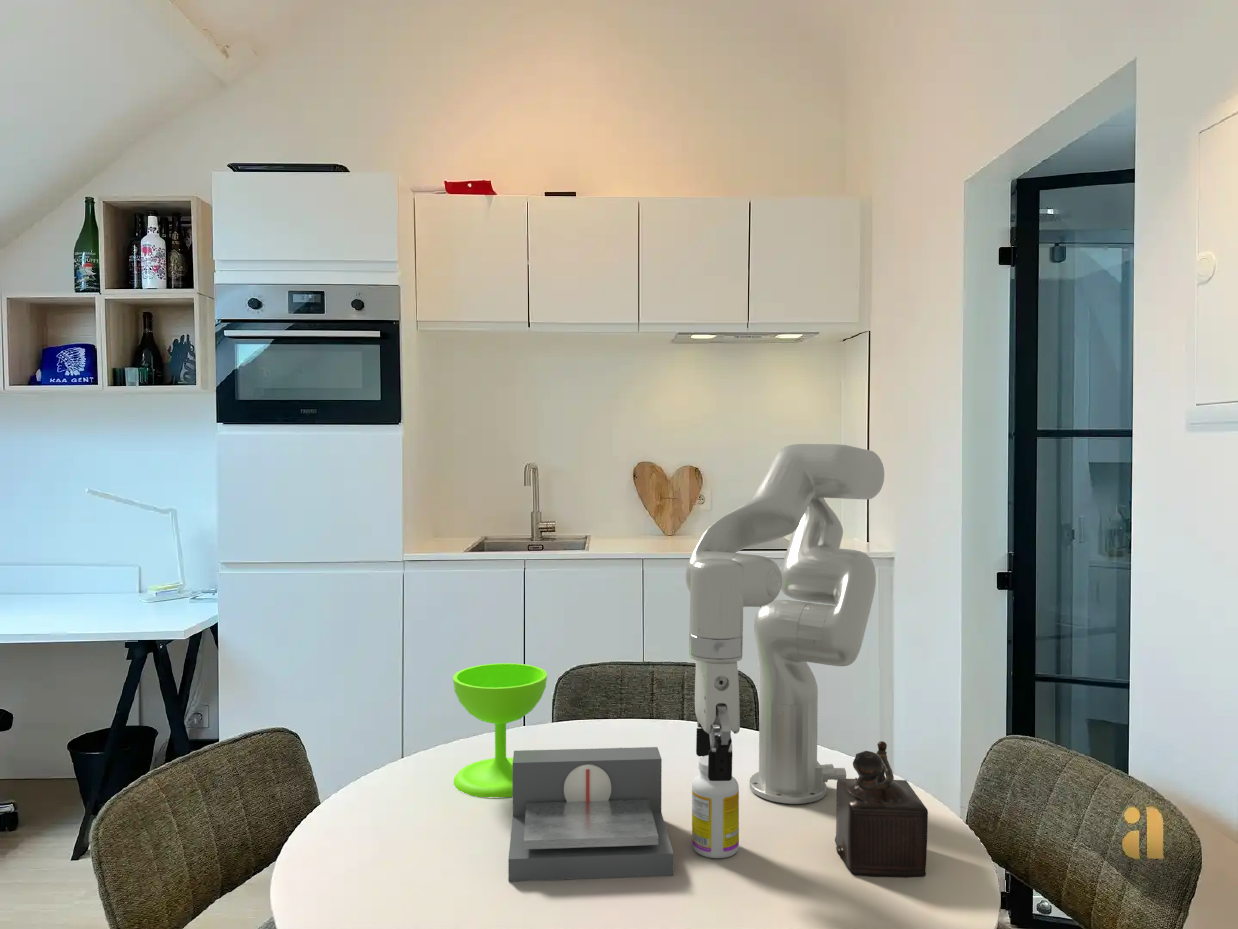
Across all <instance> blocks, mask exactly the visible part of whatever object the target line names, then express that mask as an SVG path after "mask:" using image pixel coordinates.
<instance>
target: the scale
mask: <svg viewBox="0 0 1238 929" xmlns="http://www.w3.org/2000/svg"><path fill="white" fill-rule="evenodd" d="M512 758H513V797H512V818H511V819H512V821H511V830H510V841H509V851H508V861H507V862H508V866H507V867H508V868H507V869H508V870H507V871H508V878H507V879H508V882H527V881H530V882H531V881H535V882H536V881H555V880H580V879H581V880H585V879H610V878H612V879H613V878H634V877H635V878H636V877H637V878H639V877H640V878H641V877H660V876H661V877H664V876H665V877H666V876H667V877H668V876H674V851H673V847H672V844H671V840H670V837H669V834H668V829H667V827H666V824H665V820H664V816H663V813H662V772H663V771H662V767H663V766H662V760H663V759H662V757H661V754H660V750H659V748H658V746H651V747H650V746H645V747H644V746H643V747H610V748H609V747H607V748H606V747H604V748H602V747H601V748H568V749H567V748H566V749H564V748H563V749H562V748H561V749H533V750H531V749H530V750H529V749H528V750H526V749H523V750H521V749H520V750H513V756H512ZM639 799H648V800H649V803H650V807H651V811H652V814H653V818H654V822H655V826H656V829H657V833H658V845H639V846H609V847H580V848H551V849H524V829H525V814H526V803H539V802H582V801H586V802H589V801H608V800H639Z"/></svg>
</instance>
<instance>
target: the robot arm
mask: <svg viewBox="0 0 1238 929" xmlns="http://www.w3.org/2000/svg"><path fill="white" fill-rule="evenodd" d="M884 482H885V467H884V464H883V462H882V459H881V458H880V456H879V455H878V454H877V453H876V452H875V451H873V450H870V449H865V448H861V447H857V446H853V445H846V444H835V443H833V444H832V443H831V444H830V443H820V444H819V443H795V444H794V443H793V444H789V445H786V446H784V447H782V448H781V449H780V450H779V451H778V452H777V453H776V454H775V456H774V457H773V459H772V461H771V462H770V465H769V466H768V468H767V470H766V472H765V473H764V476H763V478H762V479H761V482H760V484H759V485H758V487H757V489H756V491H755V493H754V494H753V497H752V499H750V500H749V501H747V502H745V503H744V504H742V505H740V506H738V507H736V508H735V509H733V510H731V511H729V512H727V514H725V515H723V516H722V517H720V518H719V519H717V520H716V521H714V522H713V523H712V524H711V525H710V526H709V527H707V529H706V530H705V531H704V532H703V533H702V535H701V537H700V538H699V540H698V542H697V544H696V545H695V547H694V549H693V551H692V552H691V555H690V558H689V560H688V562H687V566H686V568H685V569H686V570H685V584H686V587H687V589H688V591H689V594H690V595H689V634H688V635H689V638H688V643H689V644H688V657H689V658H690V659H691V660H694V661H695V671H694V672H695V677H694V678H695V679H694V712H695V717H696V720H697V722H696V724H697V728H696V740H695V741H696V743H695V745H696V747H695V753H696V756H697V757H703V756H707V755H708V778H709V780H710V781H730V780H731V779H732V776H733V744H732V743H733V742H732V741H733V740H732V735H731V732H732V733H733V734H735V735H736V734H738V733H739V732H740V730H741V724H740V722H741V720H740V685H739V684H740V683H739V682H740V681H739V669H738V662H739V661H742V659H743V641H744V640H743V639H744V638H743V637H744V636H743V635H744V633H743V632H744V608H745V607H746V608H747V607H748V608H749V607H753V608H758V607H759V608H758V610H757V612H756V613H755V616H754V621H753V622H754V623H753V632H754V639H755V645H756V649H757V651H756V652H757V656H758V668H759V669H758V670H759V705H758V706H759V710H758V711H759V715H758V716H759V718H758V719H759V720H758V721H759V723H758V724H759V725H758V726H759V727H758V728H759V729H758V734H759V735H758V736H759V738H758V739H759V742H758V743H759V744H758V749H759V750H758V771H757V772H756V773H754V774H753V775H751V777H750V778H749V789H750V790H751V791H752V793H754V794H755V795H756V796H758V797H760V798H762V799H764V800H767V801H770V802H775V803H780V804H786V805H787V804H789V805H801V804H802V805H803V804H810V803H814V802H818V801H820V800H822V799H823V798H824V797H825V796H826V794H827V783H828V780H829V781H830V780H833V781H837V780H838V779H840V778H845V779H847V771H846V768H845V767H835V766H834V764H833V763H826V764H820V763H819V761H818V712H819V710H818V708H819V706H818V704H819V703H818V699H819V698H818V697H819V696H818V695H819V689H818V683H817V680H816V677H815V675H814V672H813V671H812V669H811V668H810V666H809V664H808V663H812V664H813V663H814V664H820V665H826V666H833V667H848V666H850V665H852V664H854V662H855V661H856V660H857V658H858V656H859V654H860V651H861V648H862V644H863V641H864V637H865V633H866V629H867V624H868V621H869V617H870V613H871V609H872V604H873V601H874V595H875V591H876V584H877V582H876V581H877V577H876V576H877V574H876V568H875V564H874V562H873V560H872V558H871V556H869V555H868V554H867V553H865V552H863V551H860V550H855V549H851V548H850V549H848V548H847V549H846V548H840V547H841V544H842V539H843V534H844V529H843V526H842V523H841V521H840V520H839V518H838V516H837V515H836V513H835V512H834V510H833V509H832V508H831V507H830V506H829V504H828V503H827V501H826V500H825V498H828V499H846V500H872V499H874V498H875V497H877V496H878V495H879V493H880V492H881V489H882V488H883V486H884ZM789 535H791V536H790V540H789V541H788V542H789V543H788V546H787V549H786V552H785V555H784V557H783V558H784V559H783V561H782V565H781V569H780V567H779V565H778V564H777V563H776V562H775V561H774V560H772V559H771V558H769V557H766V556H763V555H758V554H757V555H756V554H746V553H739V551H740V552H741V550H744V549H747V548H750V547H753V546H758V545H760V544H766V543H769V542H772V541H776V540H778V539H781V538H784V537H787V536H789ZM781 591H782V593H783V594H784V595H785V596H786V597H788V598H790V599H791V600H790V599H777V597H778V595H780V592H781Z"/></svg>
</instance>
